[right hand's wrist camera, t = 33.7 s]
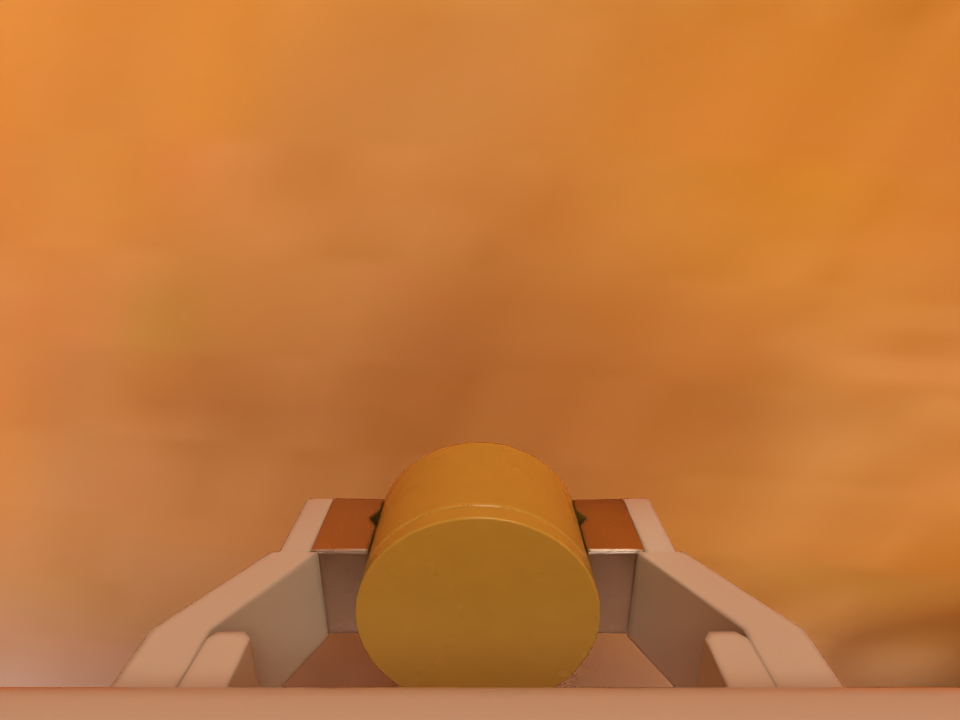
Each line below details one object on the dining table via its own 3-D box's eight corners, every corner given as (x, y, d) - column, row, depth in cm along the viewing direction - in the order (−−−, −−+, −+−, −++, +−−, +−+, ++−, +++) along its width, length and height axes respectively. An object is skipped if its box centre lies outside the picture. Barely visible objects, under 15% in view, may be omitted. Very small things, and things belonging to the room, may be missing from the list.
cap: (401, 420, 10) (378, 492, 7) (601, 464, 10) (635, 546, 8) (365, 583, 11) (337, 687, 9) (544, 618, 11) (560, 727, 9)
